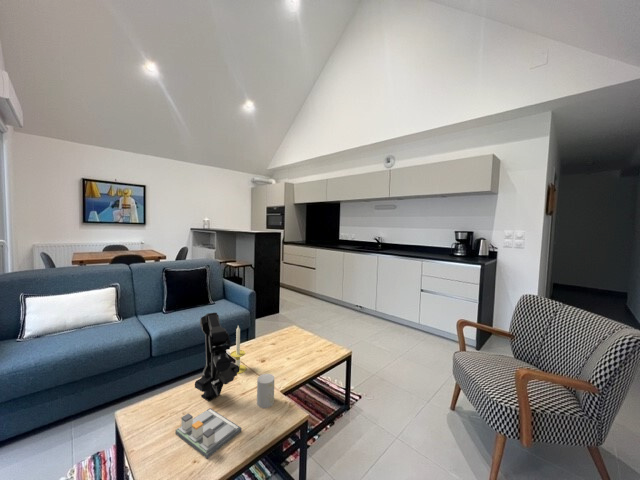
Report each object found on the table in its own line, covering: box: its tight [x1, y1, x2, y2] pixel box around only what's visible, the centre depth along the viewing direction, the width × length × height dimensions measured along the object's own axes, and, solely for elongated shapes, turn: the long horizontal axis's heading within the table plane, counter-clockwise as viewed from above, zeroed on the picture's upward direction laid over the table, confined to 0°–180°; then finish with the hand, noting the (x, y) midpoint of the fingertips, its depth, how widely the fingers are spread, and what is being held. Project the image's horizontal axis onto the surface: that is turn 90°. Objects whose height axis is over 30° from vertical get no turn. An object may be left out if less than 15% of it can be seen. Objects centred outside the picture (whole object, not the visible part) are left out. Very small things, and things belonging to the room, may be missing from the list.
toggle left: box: [180, 413, 194, 430], centre depth 110 cm, size 3×3×4 cm
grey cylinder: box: [256, 373, 275, 409], centre depth 129 cm, size 8×8×12 cm
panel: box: [175, 407, 242, 459], centre depth 110 cm, size 21×16×2 cm
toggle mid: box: [192, 421, 203, 438], centre depth 106 cm, size 3×3×4 cm
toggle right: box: [203, 428, 215, 447], centre depth 102 cm, size 3×3×4 cm
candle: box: [230, 325, 247, 375], centre depth 157 cm, size 10×10×27 cm
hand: (218, 395), depth 116 cm, fingers closed
